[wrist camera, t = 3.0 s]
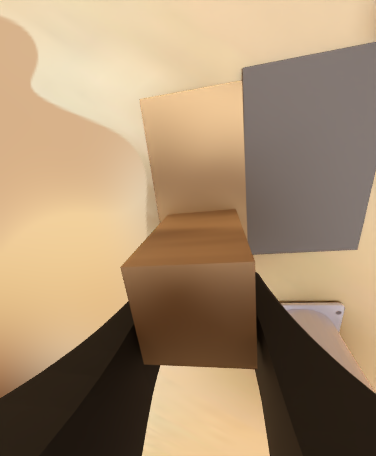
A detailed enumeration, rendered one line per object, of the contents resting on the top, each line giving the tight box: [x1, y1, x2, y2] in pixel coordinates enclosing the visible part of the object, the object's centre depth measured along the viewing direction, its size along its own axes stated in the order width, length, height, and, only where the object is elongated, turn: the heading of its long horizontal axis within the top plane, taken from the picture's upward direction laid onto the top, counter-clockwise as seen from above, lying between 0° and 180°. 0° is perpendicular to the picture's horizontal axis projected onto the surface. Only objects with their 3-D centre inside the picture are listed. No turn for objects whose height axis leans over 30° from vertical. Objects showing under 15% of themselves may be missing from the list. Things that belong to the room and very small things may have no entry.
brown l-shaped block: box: [121, 80, 257, 369], centre depth 8 cm, size 9×4×7 cm, turn 8°
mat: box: [242, 42, 376, 255], centre depth 15 cm, size 14×9×1 cm, turn 8°
